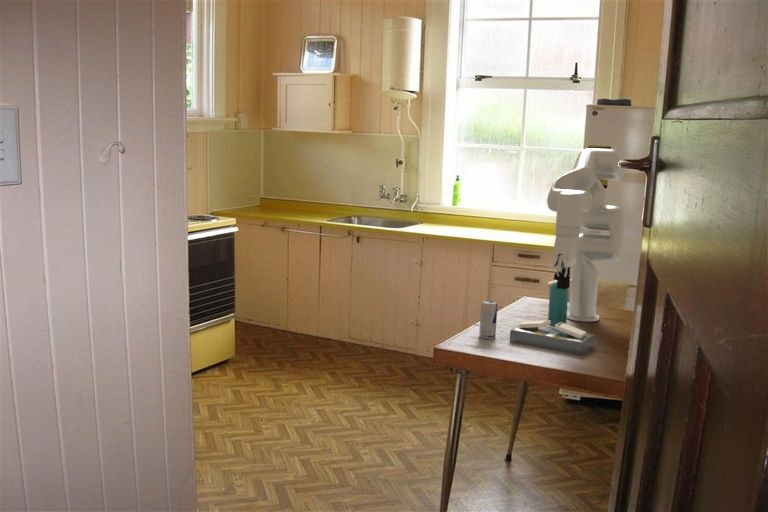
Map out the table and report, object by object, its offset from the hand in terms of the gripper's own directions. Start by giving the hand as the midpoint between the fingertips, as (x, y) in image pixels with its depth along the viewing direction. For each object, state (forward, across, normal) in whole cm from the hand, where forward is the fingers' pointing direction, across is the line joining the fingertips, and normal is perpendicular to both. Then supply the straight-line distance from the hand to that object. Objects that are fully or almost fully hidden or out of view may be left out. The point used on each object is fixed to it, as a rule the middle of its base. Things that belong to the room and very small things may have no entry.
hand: (563, 287), depth 253 cm
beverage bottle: (+19, -19, -8) cm, 28 cm away
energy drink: (+19, +6, -22) cm, 30 cm away
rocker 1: (+13, 0, -8) cm, 16 cm away
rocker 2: (+13, 0, +4) cm, 14 cm away
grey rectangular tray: (+19, 0, -2) cm, 19 cm away
